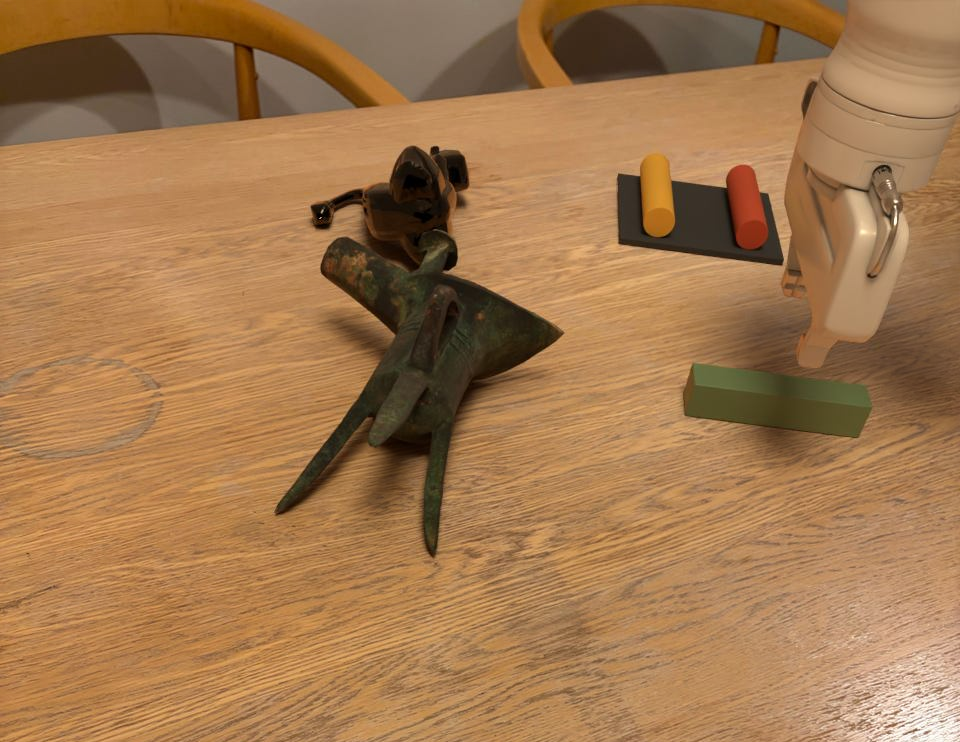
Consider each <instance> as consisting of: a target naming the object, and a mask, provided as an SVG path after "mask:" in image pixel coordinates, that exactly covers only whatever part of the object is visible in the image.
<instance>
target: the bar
mask: <svg viewBox="0 0 960 742" xmlns="http://www.w3.org/2000/svg"><path fill="white" fill-rule="evenodd" d="M685 383H686V384H685V386H684V390H683V403H684V404H683V405H684V415H685V416H687V417H694V418H701V419H709V420H710V419H711V420H718V421H724V422H733V423H740V424H748V425H755V426H756V425H757V426H764V427H770V428H779V429H787V430H794V431H801V432H810V433H816V434H823V435H824V434H826V435H833V436H841V437H847V438H848V437H849V438H855V439H858V438H860V435H861V434H862V431H863V430H864V427H865V425H866V423H867V420H868V419H869V417H870V414H871V413H872V410H873V407H874V406H873V403H872V400H871V396H870V394H869V390H868V386H867V385H866V384H860V383H853V382H852V383H851V382H844V381H837V380H829V379H821V378H813V377H804V376H798V375H790V374H783V373H774V372H768V371H760V370H752V369H745V368H738V367H737V368H736V367H731V366H730V367H729V366H728V367H727V366H722V365H713V364H705V363H698V362H692V364H691V367H690V369H689V373H688V377H687V380H686V382H685Z"/></svg>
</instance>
